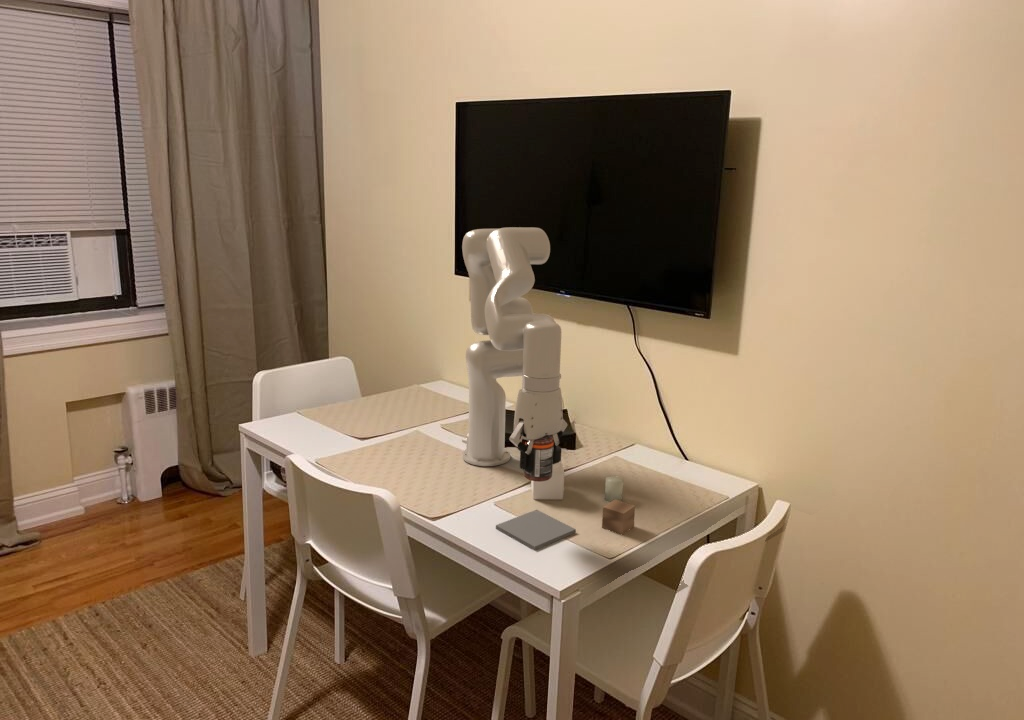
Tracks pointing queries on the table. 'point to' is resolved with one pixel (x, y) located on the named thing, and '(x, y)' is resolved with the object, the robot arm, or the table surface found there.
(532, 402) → the robot arm
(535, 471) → the supplement bottle
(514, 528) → the slate mat
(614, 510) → the walnut block
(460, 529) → the table surface
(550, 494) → the medicine bottle
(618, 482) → the sage cylinder
